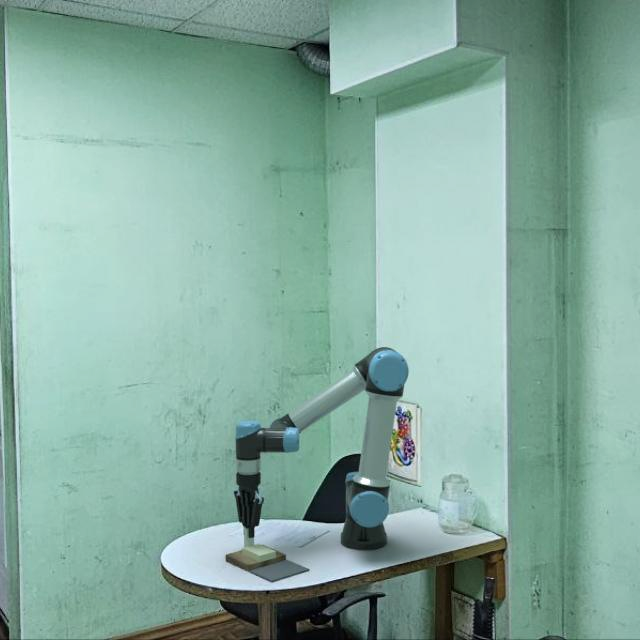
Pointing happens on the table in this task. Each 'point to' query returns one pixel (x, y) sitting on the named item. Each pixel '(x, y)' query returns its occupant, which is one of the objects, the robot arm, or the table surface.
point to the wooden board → (252, 564)
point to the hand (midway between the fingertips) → (249, 547)
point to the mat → (279, 570)
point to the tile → (259, 552)
